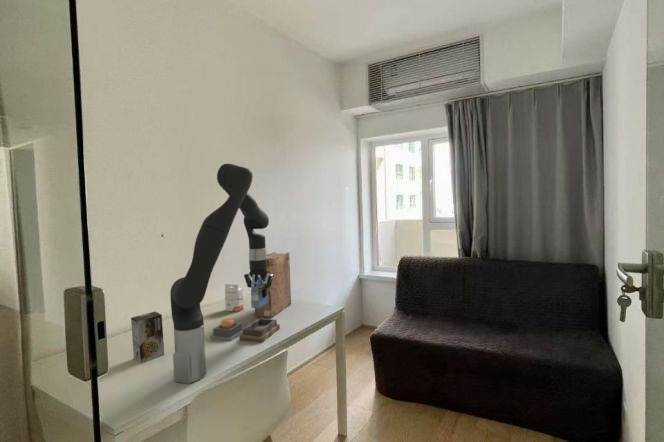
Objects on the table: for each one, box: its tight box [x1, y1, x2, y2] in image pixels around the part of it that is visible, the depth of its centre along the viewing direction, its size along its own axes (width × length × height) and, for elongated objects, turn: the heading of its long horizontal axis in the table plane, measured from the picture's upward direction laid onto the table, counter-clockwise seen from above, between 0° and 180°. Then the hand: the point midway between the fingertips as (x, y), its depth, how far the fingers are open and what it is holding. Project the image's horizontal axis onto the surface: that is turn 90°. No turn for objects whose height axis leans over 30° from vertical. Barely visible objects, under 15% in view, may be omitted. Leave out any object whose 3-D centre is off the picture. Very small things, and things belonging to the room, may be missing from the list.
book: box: [254, 251, 292, 319], centre depth 188 cm, size 25×9×30 cm, turn 163°
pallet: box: [239, 317, 281, 343], centre depth 154 cm, size 16×11×4 cm
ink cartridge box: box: [224, 284, 244, 313], centre depth 191 cm, size 9×5×15 cm, turn 73°
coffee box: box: [130, 311, 165, 364], centre depth 133 cm, size 9×6×16 cm
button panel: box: [209, 322, 243, 341], centre depth 154 cm, size 11×11×4 cm
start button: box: [220, 317, 235, 329], centre depth 154 cm, size 5×5×4 cm
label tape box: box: [250, 277, 268, 309], centre depth 153 cm, size 9×4×12 cm, turn 163°
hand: (259, 296), depth 153 cm, fingers closed on label tape box, 4 cm apart
